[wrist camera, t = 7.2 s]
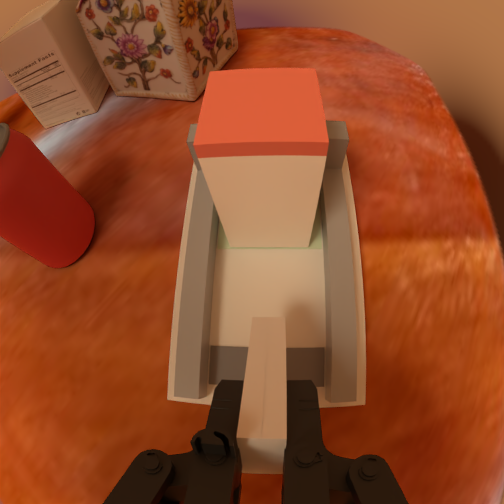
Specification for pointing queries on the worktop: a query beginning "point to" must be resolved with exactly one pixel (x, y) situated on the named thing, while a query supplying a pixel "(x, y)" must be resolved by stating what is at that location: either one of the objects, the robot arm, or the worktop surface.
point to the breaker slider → (263, 153)
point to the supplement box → (53, 64)
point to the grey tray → (272, 294)
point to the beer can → (40, 204)
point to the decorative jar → (159, 44)
